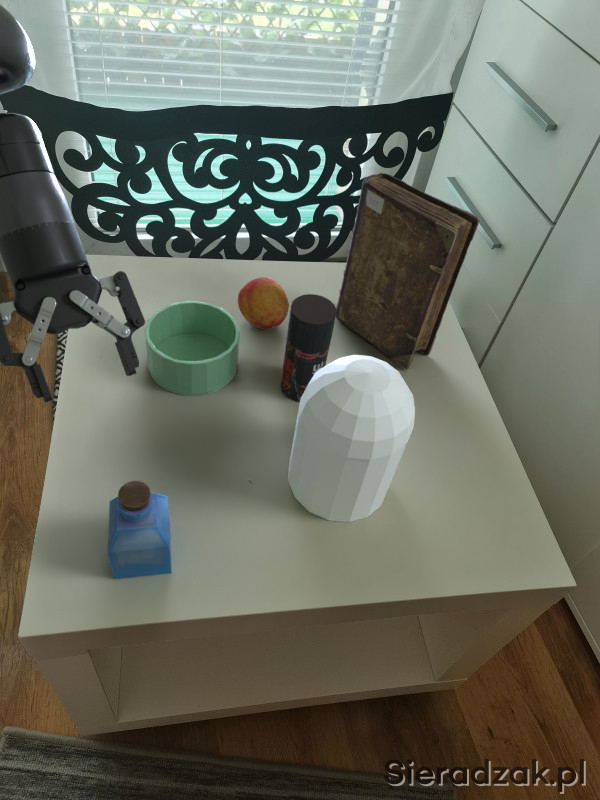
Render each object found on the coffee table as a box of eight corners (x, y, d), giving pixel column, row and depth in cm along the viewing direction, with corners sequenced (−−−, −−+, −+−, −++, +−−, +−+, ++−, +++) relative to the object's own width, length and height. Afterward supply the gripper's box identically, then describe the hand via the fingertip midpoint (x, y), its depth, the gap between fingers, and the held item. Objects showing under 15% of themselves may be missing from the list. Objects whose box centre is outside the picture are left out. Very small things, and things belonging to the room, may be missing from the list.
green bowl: (170, 407, 85) (168, 375, 80) (134, 348, 92) (130, 315, 87) (252, 378, 91) (255, 346, 86) (213, 324, 97) (213, 292, 93)
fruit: (278, 302, 103) (283, 263, 97) (292, 335, 98) (298, 295, 92) (232, 308, 100) (234, 268, 95) (245, 341, 96) (247, 301, 90)
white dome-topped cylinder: (409, 496, 80) (455, 393, 65) (324, 540, 74) (354, 439, 59) (349, 424, 87) (380, 317, 72) (268, 460, 81) (282, 350, 66)
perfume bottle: (169, 524, 73) (164, 466, 64) (171, 573, 69) (166, 517, 60) (115, 529, 72) (103, 470, 63) (114, 579, 68) (100, 523, 59)
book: (329, 315, 102) (357, 175, 84) (358, 299, 106) (391, 162, 87) (403, 374, 95) (452, 235, 76) (432, 355, 99) (485, 218, 80)
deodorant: (295, 366, 93) (308, 288, 82) (327, 386, 91) (345, 308, 80) (272, 388, 90) (281, 309, 79) (304, 408, 88) (319, 330, 77)
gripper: (-46, 237, 54) (20, 412, 56) (113, 205, 60) (166, 365, 62) (-42, 254, 60) (17, 410, 63) (100, 224, 66) (149, 367, 69)
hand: (91, 387), depth 63 cm, fingers open, 8 cm apart
